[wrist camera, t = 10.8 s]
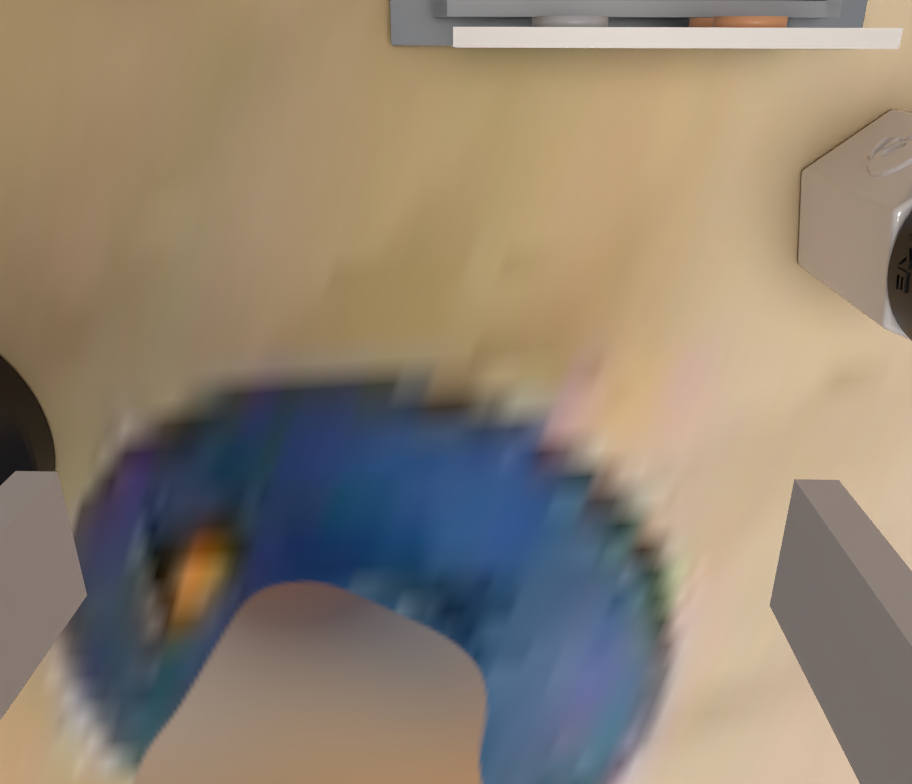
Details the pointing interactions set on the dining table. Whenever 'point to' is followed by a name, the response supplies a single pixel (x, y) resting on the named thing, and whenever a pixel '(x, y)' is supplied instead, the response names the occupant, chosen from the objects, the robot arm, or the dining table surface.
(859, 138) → the jar
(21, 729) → the dining table surface
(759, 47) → the rack
